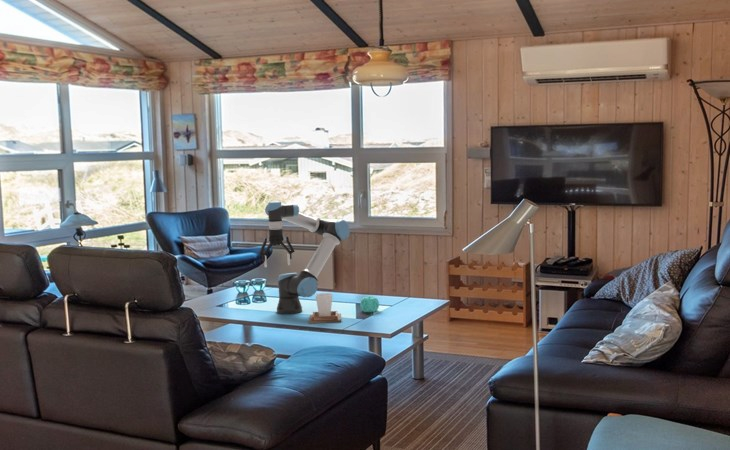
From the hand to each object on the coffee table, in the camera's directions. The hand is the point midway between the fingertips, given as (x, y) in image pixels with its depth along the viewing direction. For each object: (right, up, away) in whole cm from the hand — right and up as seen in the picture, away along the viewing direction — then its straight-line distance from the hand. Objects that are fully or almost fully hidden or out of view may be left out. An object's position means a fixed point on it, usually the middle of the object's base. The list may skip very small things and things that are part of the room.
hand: (277, 266), depth 424 cm
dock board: (+27, -30, -2) cm, 41 cm away
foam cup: (+27, -29, -2) cm, 40 cm away
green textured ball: (+53, -28, +18) cm, 62 cm away
